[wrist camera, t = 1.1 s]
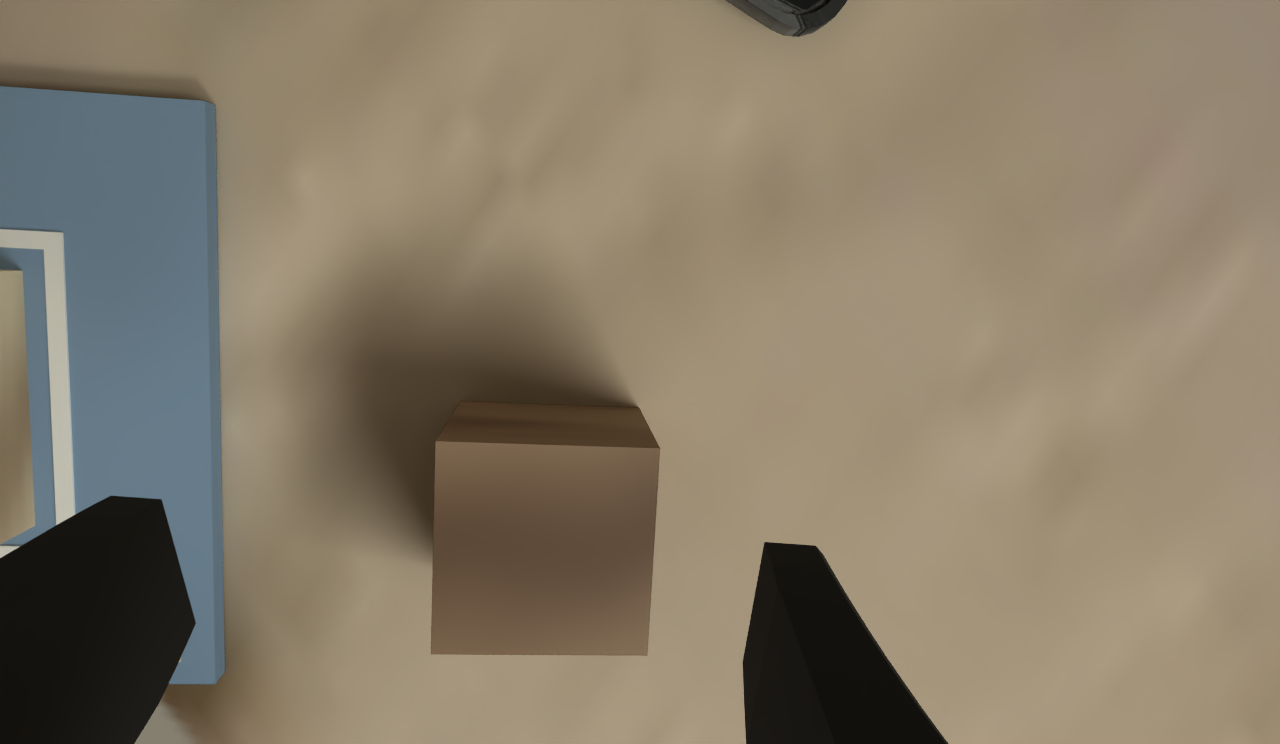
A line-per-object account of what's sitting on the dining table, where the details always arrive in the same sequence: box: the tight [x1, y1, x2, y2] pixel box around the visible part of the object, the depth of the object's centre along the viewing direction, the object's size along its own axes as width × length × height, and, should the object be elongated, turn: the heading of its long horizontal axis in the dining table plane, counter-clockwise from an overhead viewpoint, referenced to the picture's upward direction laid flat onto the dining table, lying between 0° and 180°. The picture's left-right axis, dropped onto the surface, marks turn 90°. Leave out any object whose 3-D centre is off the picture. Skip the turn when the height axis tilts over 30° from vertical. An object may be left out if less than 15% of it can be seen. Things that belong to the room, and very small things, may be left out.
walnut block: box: [431, 401, 660, 656], centre depth 19 cm, size 4×4×4 cm
